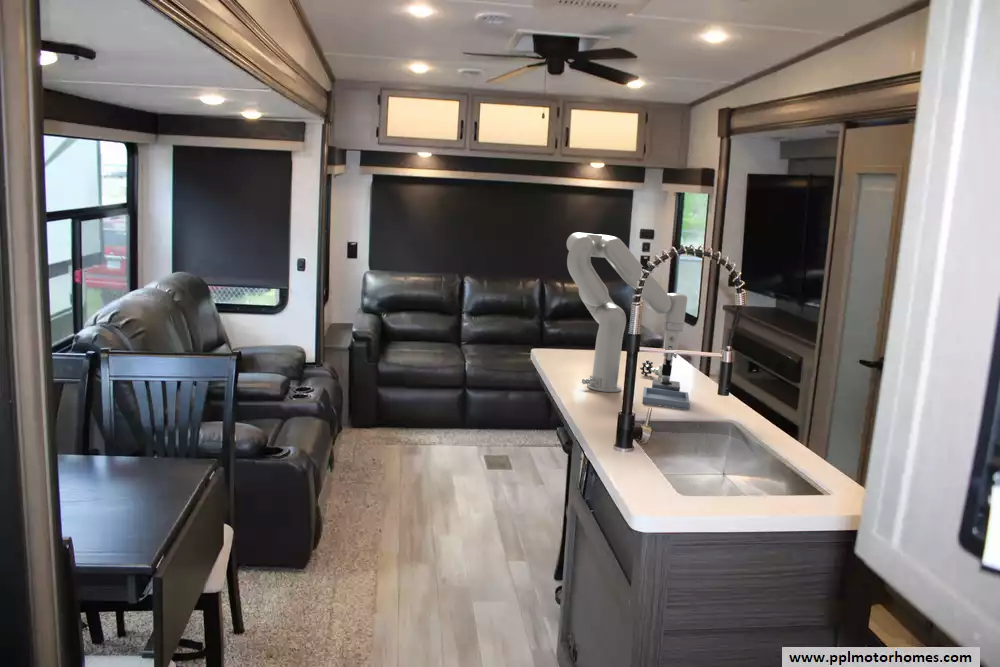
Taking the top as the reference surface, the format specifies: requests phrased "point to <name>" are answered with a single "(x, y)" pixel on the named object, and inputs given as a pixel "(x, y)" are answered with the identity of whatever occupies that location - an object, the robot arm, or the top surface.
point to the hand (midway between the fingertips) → (666, 374)
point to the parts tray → (665, 398)
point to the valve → (651, 369)
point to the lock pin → (665, 378)
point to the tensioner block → (666, 385)
